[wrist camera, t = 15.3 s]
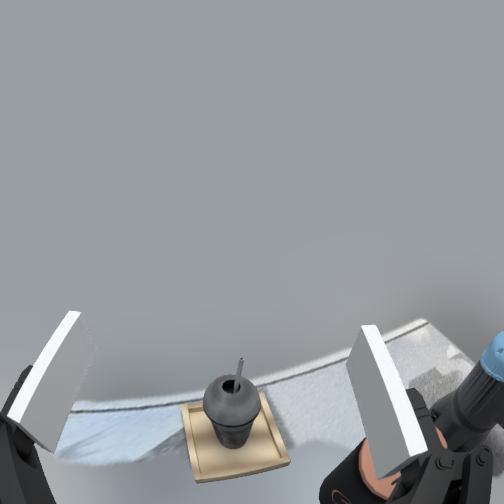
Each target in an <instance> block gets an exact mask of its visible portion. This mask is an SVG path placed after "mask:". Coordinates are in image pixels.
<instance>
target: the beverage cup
mask: <svg viewBox="0 0 504 504" xmlns="http://www.w3.org/2000/svg"><path fill="white" fill-rule="evenodd" d="M243 362H244V358H243V357H240V358H239V363H238V368H237V374H236V375H224V376H221V377H219V378H216V379H215V380H214V381H213V382H212V383H210V384H209V386H208V388H207V389H206V391H205V394H204V398H203V409H204V412H205V414H206V415H207V417H208V418H209V419H210V421H211V423H212V425H213V428H214V431H215V433H216V436H217V438H218V440H219V442H220V443H221V445H222V446H224V447H225V448H228V449H238V448H241V447H242V446H244V445H245V443H246V441H247V439H248V437H249V434H250V431H251V428H252V425H253V422H254V420H255V419H256V417H257V416H258V414H259V412H260V409H261V400H260V396H259V393H258V391H257V389H256V387H255V386H254V385H253V384H252V383H251V381H249V380H248V379H246V378H244V377H242V376H241V372H242V367H243Z"/></svg>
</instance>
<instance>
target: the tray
mask: <svg viewBox="0 0 504 504" xmlns="http://www.w3.org/2000/svg"><path fill="white" fill-rule="evenodd" d="M259 396H260V400H261V409H260V412H259V414H258V416H257V417H256V419H255V420H254V422H253V425H252V428H251V431H250V434H249V437H248V439H247V441H246V443H245V445H244V446H242V447H241V448H238V449H228V448H225V447H224V446H222V445H221V443H220V442H219V440H218V438H217V436H216V433H215V431H214V428H213V425H212V423H211V421H210V419H209V418H208V417H207V415H206V414H205V412H204V409H203V402H198V403H190V404H181V407H182V414H183V420H184V427H185V433H186V439H187V444H188V450H189V455H190V460H191V465H192V470H193V474H194V479H195V481H196V483H206V482H213V481H220V480H227V479H233V478H238V477H243V476H248V475H253V474H258V473H262V472H266V471H270V470H274V469H278V468H281V467H285V466H288V465H289V464H290V462H291V460H290V458H289V455H288V453H287V450H286V448H285V446H284V443H283V441H282V438H281V436H280V433H279V431H278V428H277V426H276V423H275V421H274V418H273V416H272V413H271V411H270V408H269V405H268V403H267V400H266V398H265V395H264V393H263V392H259Z"/></svg>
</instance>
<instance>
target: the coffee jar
mask: <svg viewBox="0 0 504 504" xmlns="http://www.w3.org/2000/svg"><path fill="white" fill-rule="evenodd" d="M435 428H436V427H435ZM436 430H437V433H438V436H439V438H440V441H441V443H442V445H443V446H444V447H445V448H447V443H446V441H445V439H444V437H443V435H442V433H441V432H440V431H439V430H438V429H437V428H436ZM400 476H401V473H400V471H399V472H398V473H396V474H395V475H393V476H390V477H387V478H383V479H380V480H377V478H376V474H375V470H374V465H373V461H372V457H371V453H370V449H369V445H368V441H367V437H365V438H364V439H363V440H362V441H361V443H360V444H359V445H358V446H357V447H356V448H355V449H354V450H353V451H352V452H351V453H350V454H349V455H348V456H347V457H346V458H345V460H344V461H342V463H340V464H339V465H338V466H337V467H336V468H335V469H334V470H333V471H332V472H331V473H330V474H329V475H328V476H327V477H326V478H325V479H324V481H323V483H322V485H321V487H320V492H319V500H320V504H385V503H386V502H387V500H388V498H389V496H390V495H391V493H392V491H393V489H394V487H395V485H396V483H395V484H393V485H391V483H392V482H393V480H395V479H397V478H398V477H400Z"/></svg>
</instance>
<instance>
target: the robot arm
mask: <svg viewBox="0 0 504 504" xmlns="http://www.w3.org/2000/svg"><path fill="white" fill-rule="evenodd" d="M96 353H97V349H96V347H95V345H94V342H93V340H92V338H91V335H90V333H89V331H88V328H87V326H86V323H85V322H84V319H83V316H82V313H81V312H76V311H69V312H68V313H67V315H66V316H65V318H64V319H63V321H62V322H61V324H60V325H59V326H58V328H57V329H56V331H55V332H54V334H53V335H52V337H51V339H50V340H49V342H48V343H47V345H46V346H45V348H44V350H43V351H42V353H41V354H40V356H39V358H38V359H37V361H36V363H35V364H34V366H32V365H29V366H28V367H27V368H26V369H25V370H24V371H23V372H22V373H21V375H20V377H19V379H18V382H16V384H15V386H14V388H13V389H12V391H11V393H10V395H9V397H8V399H7V401H6V403H5V405H4V407H3V409H2V411H1V412H0V504H56V502H55V500H54V497H53V495H52V493H51V490H50V488H49V485H48V483H47V480H46V477H45V475H44V472H43V469H42V466H41V463H40V460H39V457H38V454H37V450H36V448H35V446H34V443H37V444H38V445H39V446H40V447H41V448H43V449H45V450H47V451H49V452H51V453H53V454H54V453H55V450H56V447H57V444H58V441H59V439H60V436H61V433H62V431H63V428H64V426H65V423H66V420H67V418H68V415H69V413H70V411H71V408H72V406H73V403H74V401H75V399H76V396H77V394H78V392H79V389H80V387H81V385H82V383H83V381H84V378H85V376H86V374H87V372H88V370H89V368H90V366H91V364H92V361H93V359H94V357H95V355H96ZM346 367H347V370H348V374H349V377H350V380H351V384H352V387H353V390H354V394H355V397H356V401H357V404H358V408H359V411H360V415H361V418H362V422H363V426H364V430H365V433H366V437H367V441H368V445H369V449H370V453H371V457H372V461H373V465H374V470H375V474H376V478H377V480H380V479H383V478H387V477H390V476H393V475H395V474H396V473H398V472H399V471H400V473H401V476H400V477H398V478H397V479H395V480H393V482H392V483H391V485H393V484H395V483H396V485H395V487H394V489H393V491H392V493H391V495H390V496H389V498H388V500H387V502H386V503H385V504H489V502H490V494H491V483H492V466H493V456H492V452H491V450H490V448H488V447H487V446H485V445H481V444H482V443H483V441H484V440H485V438H486V437H487V435H488V433H489V432H490V430H491V429H492V428H493V427H494V426H495V425H496V424H497V423H498V424H499V425H500V426H501V427H502V428H503V429H504V331H502V332H500V333H499V334H498V335H496V337H495V338H494V339H493V341H492V342H491V343H490V345H489V346H488V348H486V349H485V350H484V351H483V353H482V355H481V358H480V360H479V361H478V363H477V364H476V365H475V367H474V368H473V369H472V371H471V372H470V373H469V375H468V376H467V377H466V378H465V380H464V381H463V382H462V384H461V385H460V386H459V387H458V389H456V390H455V391H453V392H451V393H450V394H448V395H446V396H444V397H443V398H441V399H439V400H438V401H437V402H436V403H435V404H434V405H433V406H432V407H431V408H430V409H429V411H428V408H426V404H425V401H424V399H423V397H422V395H421V394H420V393H419V392H418V391H417V390H416V389H415V388H411V389H406V390H405V388H404V386H403V384H402V381H401V379H400V377H399V374H398V372H397V370H396V368H395V365H394V363H393V361H392V359H391V357H390V354H389V352H388V350H387V348H386V346H385V344H384V341H383V339H382V337H381V335H380V333H379V331H378V329H377V327H376V325H366V326H361V327H360V330H359V332H358V335H357V338H356V340H355V343H354V345H353V348H352V350H351V353H350V355H349V358H348V360H347V362H346ZM435 427H436V428H437V429H438V430H439V431H440V432H441V433H442V435H443V437H444V439H445V441H446V443H447V448H445V447H444V446H443V445H442V443H441V441H440V438H439V436H438V433H437V430H436V428H435Z"/></svg>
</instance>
